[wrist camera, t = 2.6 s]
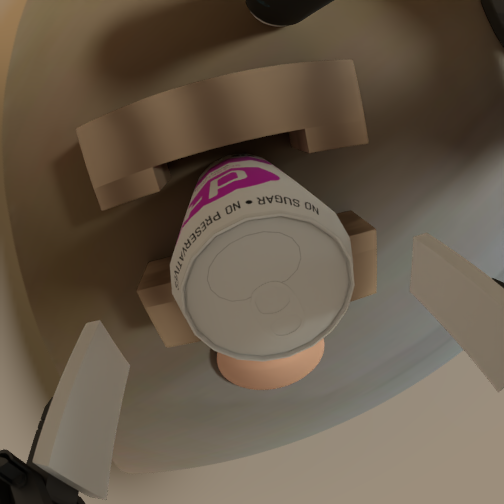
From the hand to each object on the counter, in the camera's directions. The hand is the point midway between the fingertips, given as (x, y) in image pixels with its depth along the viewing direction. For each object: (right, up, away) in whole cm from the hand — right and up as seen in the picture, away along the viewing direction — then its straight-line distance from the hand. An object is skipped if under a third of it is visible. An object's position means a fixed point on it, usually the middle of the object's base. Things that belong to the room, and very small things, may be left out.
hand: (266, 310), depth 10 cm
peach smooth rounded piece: (+2, -10, +22) cm, 24 cm away
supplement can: (-1, +7, +14) cm, 16 cm away
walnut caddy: (-1, +7, +14) cm, 15 cm away
